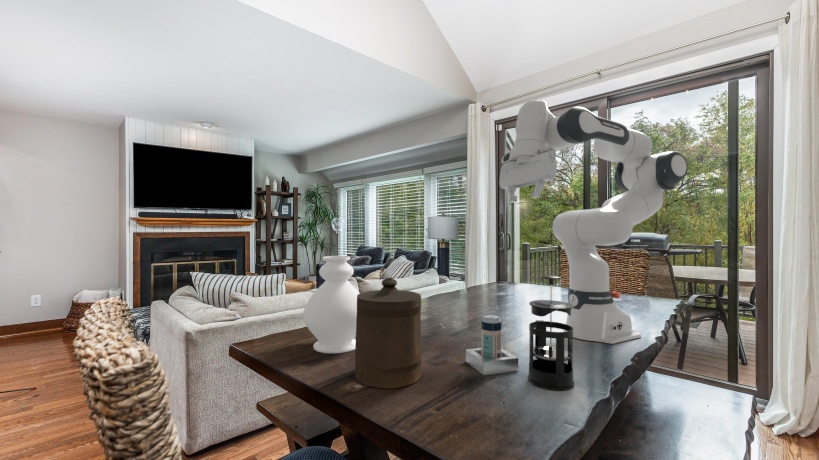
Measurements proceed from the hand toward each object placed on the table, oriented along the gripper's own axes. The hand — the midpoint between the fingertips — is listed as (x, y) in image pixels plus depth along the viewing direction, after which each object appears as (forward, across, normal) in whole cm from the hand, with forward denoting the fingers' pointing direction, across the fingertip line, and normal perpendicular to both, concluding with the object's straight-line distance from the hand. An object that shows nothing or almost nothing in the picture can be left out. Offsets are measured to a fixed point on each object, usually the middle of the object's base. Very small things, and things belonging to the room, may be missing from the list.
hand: (523, 199), depth 108 cm
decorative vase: (+49, +21, +43) cm, 68 cm away
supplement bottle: (+45, -9, +13) cm, 48 cm away
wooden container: (+49, -4, +37) cm, 61 cm away
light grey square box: (+45, -9, +13) cm, 48 cm away
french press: (+45, -22, +6) cm, 50 cm away
